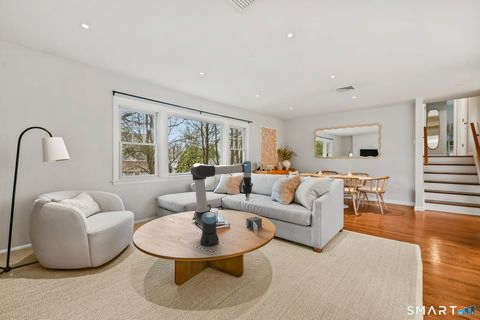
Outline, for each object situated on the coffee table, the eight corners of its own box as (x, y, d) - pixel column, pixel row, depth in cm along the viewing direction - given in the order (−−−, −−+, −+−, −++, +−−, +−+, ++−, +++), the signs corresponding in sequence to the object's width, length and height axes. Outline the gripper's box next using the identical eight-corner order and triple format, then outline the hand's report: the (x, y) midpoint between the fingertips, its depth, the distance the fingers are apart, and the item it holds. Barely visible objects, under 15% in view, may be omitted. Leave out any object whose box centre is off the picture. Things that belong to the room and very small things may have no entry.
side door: (251, 230, 198) (251, 221, 198) (253, 230, 199) (253, 221, 198) (255, 235, 186) (255, 225, 186) (257, 235, 186) (257, 225, 186)
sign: (212, 224, 227) (217, 206, 227) (212, 225, 224) (217, 207, 223) (192, 218, 225) (198, 201, 225) (192, 219, 222) (197, 201, 222)
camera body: (250, 230, 197) (250, 220, 197) (244, 228, 204) (244, 218, 204) (261, 227, 205) (261, 217, 205) (255, 225, 213) (255, 215, 212)
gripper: (244, 177, 198) (244, 202, 199) (254, 176, 206) (255, 200, 207) (239, 176, 204) (239, 200, 205) (250, 175, 212) (250, 199, 213)
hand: (247, 200), depth 206 cm, fingers closed
